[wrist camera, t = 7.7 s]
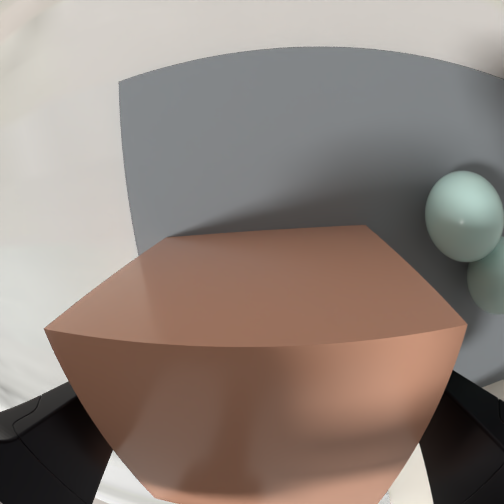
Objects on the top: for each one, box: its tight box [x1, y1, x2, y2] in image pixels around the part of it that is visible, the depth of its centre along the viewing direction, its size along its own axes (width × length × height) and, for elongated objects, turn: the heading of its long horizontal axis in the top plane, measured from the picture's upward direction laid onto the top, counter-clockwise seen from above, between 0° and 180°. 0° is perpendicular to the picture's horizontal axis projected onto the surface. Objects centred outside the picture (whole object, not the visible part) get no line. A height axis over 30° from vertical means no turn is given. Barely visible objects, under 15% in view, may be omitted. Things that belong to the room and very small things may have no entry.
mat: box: [119, 47, 504, 387], centre depth 11 cm, size 24×21×1 cm
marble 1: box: [425, 171, 504, 262], centre depth 7 cm, size 3×3×3 cm
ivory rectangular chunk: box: [388, 380, 504, 504], centre depth 9 cm, size 7×7×6 cm
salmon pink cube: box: [44, 225, 468, 504], centre depth 8 cm, size 7×7×6 cm
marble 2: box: [467, 236, 504, 315], centre depth 8 cm, size 3×3×3 cm
